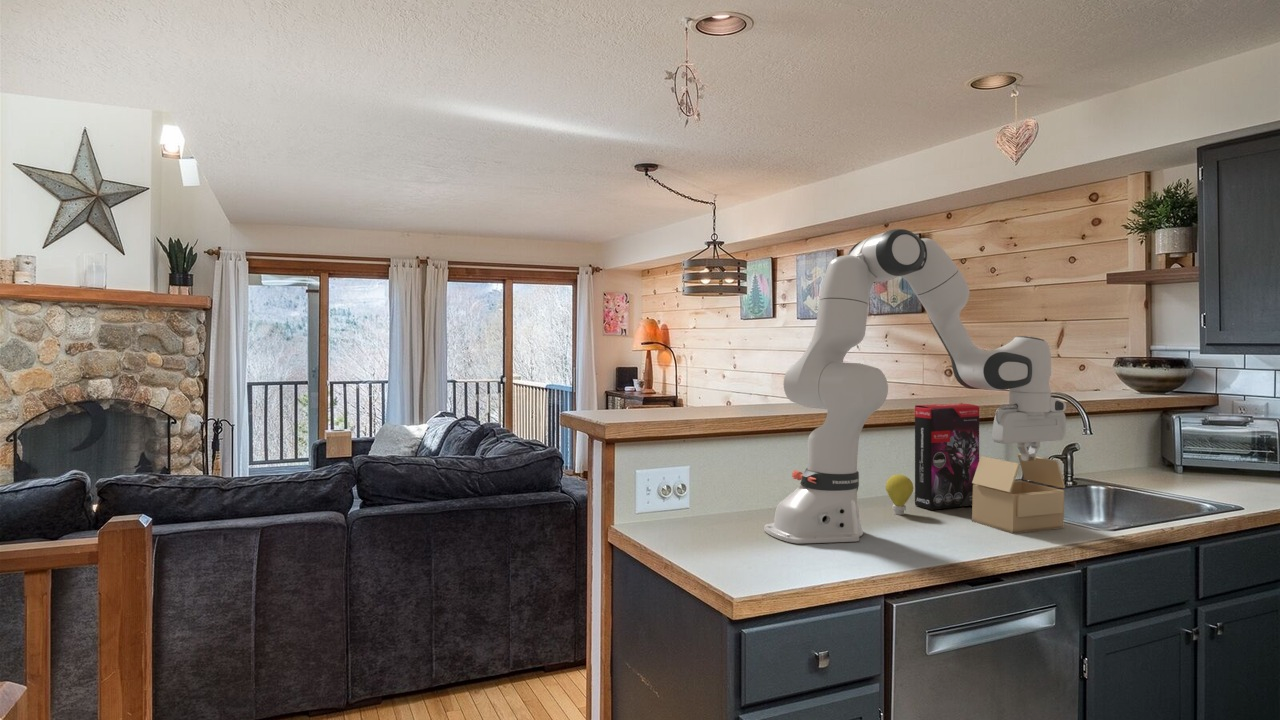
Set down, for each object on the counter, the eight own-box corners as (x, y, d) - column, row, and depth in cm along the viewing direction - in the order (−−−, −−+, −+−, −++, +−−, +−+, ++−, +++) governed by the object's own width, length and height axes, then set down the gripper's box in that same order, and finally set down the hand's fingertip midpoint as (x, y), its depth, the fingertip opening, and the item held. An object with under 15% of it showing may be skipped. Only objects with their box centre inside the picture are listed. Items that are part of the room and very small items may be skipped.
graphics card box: (930, 511, 188) (933, 406, 187) (911, 505, 195) (913, 404, 194) (980, 506, 195) (982, 404, 194) (959, 501, 201) (962, 402, 200)
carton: (1015, 534, 167) (1016, 495, 166) (969, 520, 179) (970, 484, 179) (1065, 528, 172) (1066, 490, 172) (1018, 515, 185) (1019, 480, 184)
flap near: (973, 483, 178) (982, 456, 178) (1010, 492, 167) (1020, 464, 168) (971, 482, 177) (980, 455, 178) (1009, 492, 167) (1018, 463, 168)
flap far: (1063, 488, 173) (1056, 461, 172) (1024, 479, 183) (1017, 454, 182) (1065, 487, 173) (1057, 460, 172) (1026, 478, 184) (1018, 453, 183)
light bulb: (901, 509, 190) (902, 471, 189) (918, 515, 183) (919, 476, 183) (879, 511, 188) (880, 472, 187) (896, 517, 181) (897, 477, 181)
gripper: (1007, 406, 169) (1006, 465, 170) (1071, 403, 176) (1070, 460, 177) (986, 403, 175) (984, 460, 176) (1048, 401, 182) (1047, 456, 183)
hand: (1028, 460), depth 176 cm, fingers closed
